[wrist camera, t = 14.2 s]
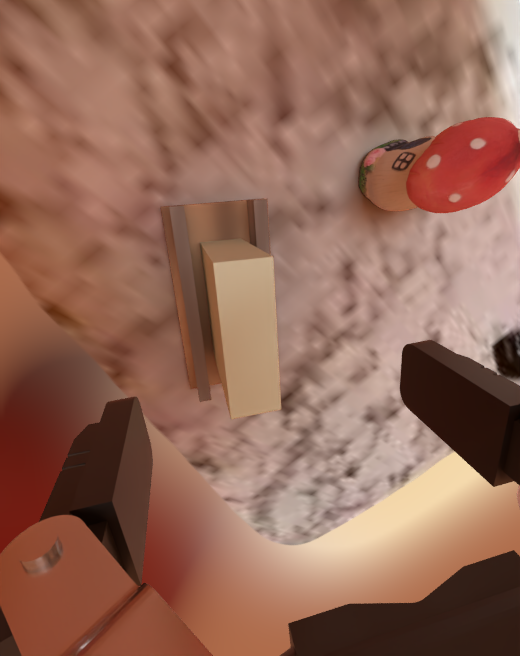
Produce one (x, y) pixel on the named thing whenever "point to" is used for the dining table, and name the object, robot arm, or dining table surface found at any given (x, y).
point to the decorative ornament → (443, 167)
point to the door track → (188, 276)
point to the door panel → (243, 324)
